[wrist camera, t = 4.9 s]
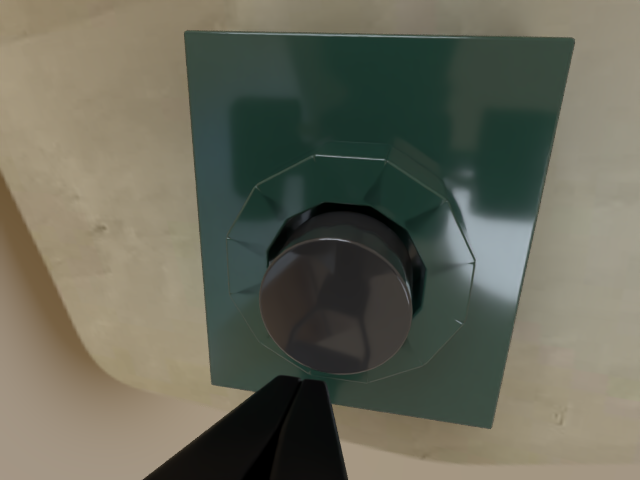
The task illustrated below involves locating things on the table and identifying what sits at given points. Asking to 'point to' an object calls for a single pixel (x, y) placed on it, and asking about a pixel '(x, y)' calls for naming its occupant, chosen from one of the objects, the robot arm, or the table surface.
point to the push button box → (376, 192)
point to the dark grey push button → (339, 293)
